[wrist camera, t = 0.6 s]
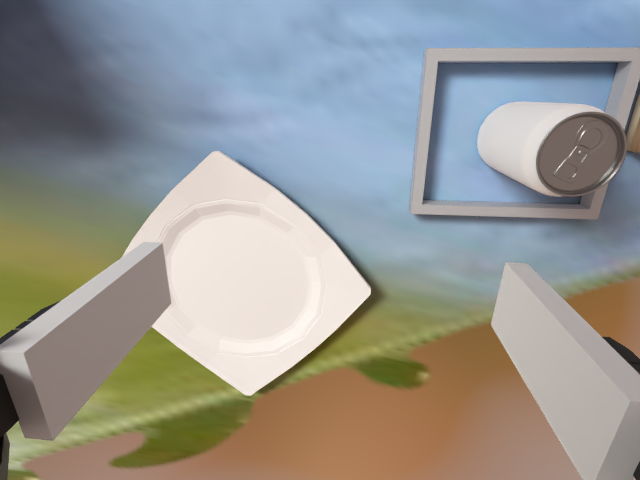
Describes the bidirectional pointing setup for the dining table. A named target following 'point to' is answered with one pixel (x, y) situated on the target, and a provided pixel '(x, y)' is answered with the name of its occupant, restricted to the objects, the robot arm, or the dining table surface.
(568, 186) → the can
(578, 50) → the grey rectangular frame
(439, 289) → the dining table surface
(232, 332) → the plate
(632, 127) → the divided wooden tray
